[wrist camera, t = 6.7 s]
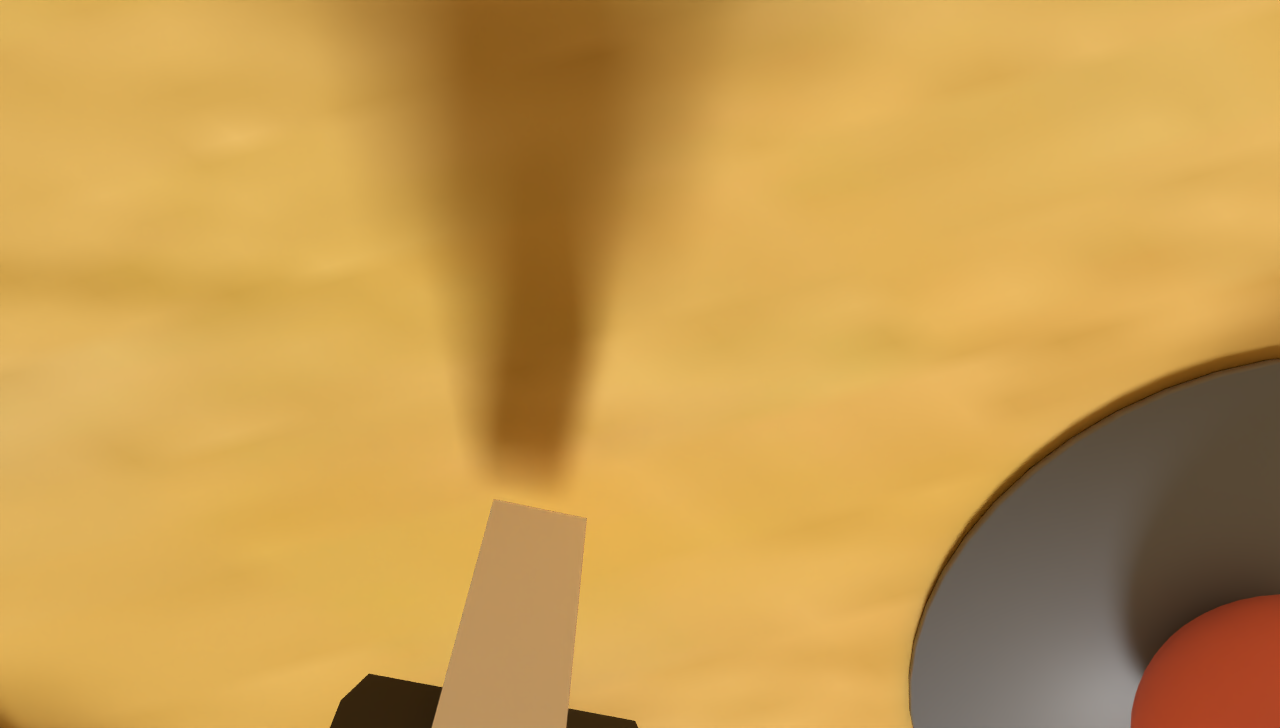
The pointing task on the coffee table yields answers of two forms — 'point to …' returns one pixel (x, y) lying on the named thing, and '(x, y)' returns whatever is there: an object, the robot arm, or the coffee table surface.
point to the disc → (1105, 559)
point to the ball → (1216, 671)
